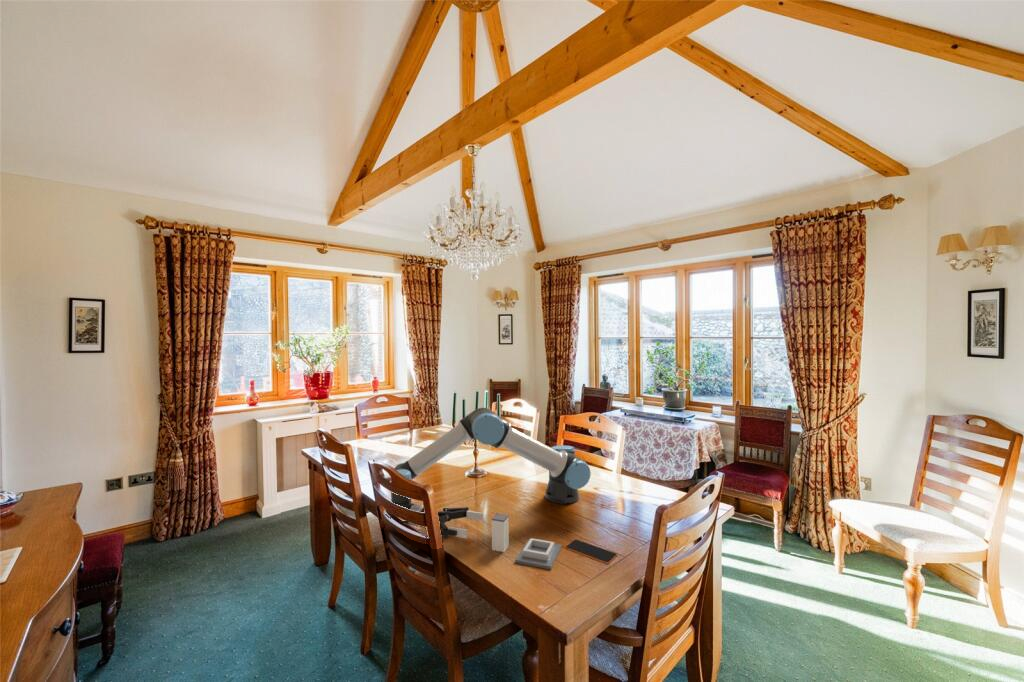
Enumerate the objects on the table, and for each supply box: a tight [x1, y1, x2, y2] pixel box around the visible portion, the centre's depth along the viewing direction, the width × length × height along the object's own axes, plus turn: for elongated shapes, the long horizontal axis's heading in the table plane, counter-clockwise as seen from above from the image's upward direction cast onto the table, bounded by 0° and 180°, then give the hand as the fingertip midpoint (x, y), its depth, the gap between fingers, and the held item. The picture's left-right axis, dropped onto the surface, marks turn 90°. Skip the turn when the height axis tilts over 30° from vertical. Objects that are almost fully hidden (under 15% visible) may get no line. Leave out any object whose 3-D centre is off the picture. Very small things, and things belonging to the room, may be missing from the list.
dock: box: [514, 537, 562, 570], centre depth 140 cm, size 14×12×3 cm
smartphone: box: [564, 538, 619, 565], centre depth 142 cm, size 8×17×1 cm, turn 51°
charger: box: [491, 512, 510, 553], centre depth 145 cm, size 4×4×11 cm
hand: (475, 525), depth 148 cm, fingers open, 13 cm apart
